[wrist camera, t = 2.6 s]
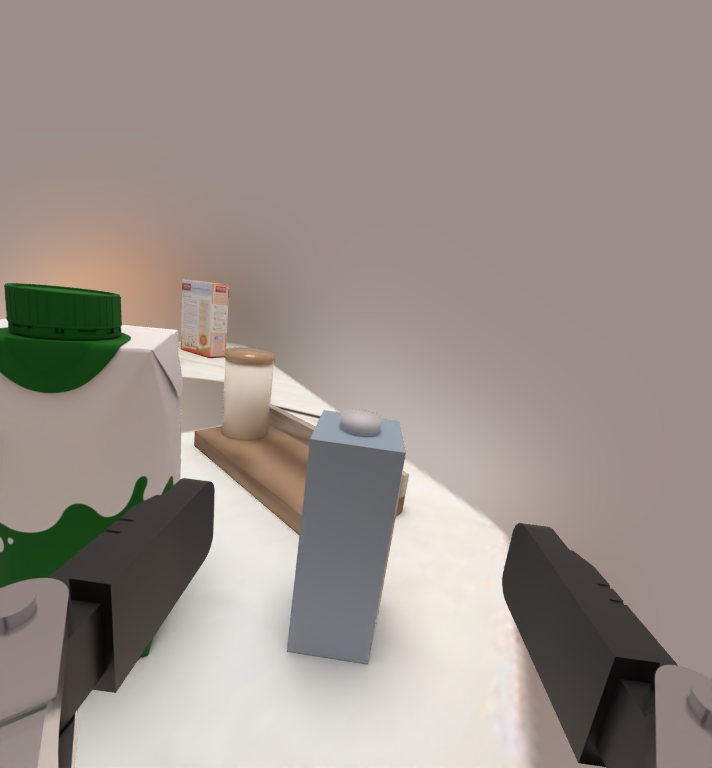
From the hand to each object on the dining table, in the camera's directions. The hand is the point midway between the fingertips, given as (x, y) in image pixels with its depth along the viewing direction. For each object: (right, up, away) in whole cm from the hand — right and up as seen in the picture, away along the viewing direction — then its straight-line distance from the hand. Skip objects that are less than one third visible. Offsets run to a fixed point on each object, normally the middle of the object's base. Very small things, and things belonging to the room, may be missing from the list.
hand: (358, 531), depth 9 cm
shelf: (-8, -7, +33) cm, 34 cm away
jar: (-15, -3, +39) cm, 42 cm away
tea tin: (-2, -12, +14) cm, 19 cm away
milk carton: (-16, -11, +13) cm, 23 cm away
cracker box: (-46, +13, +96) cm, 107 cm away
